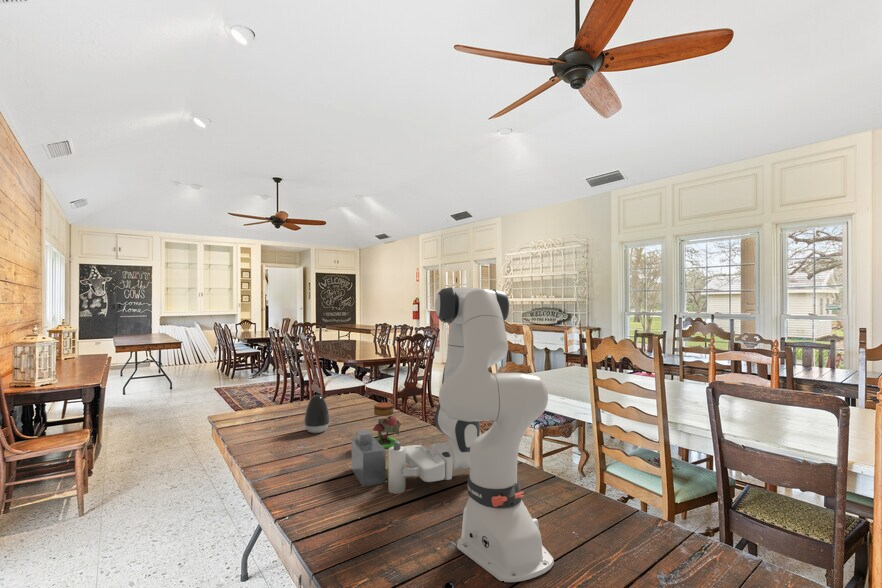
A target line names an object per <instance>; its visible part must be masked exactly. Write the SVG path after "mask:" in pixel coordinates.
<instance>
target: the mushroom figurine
mask: <svg viewBox="0 0 882 588" xmlns="http://www.w3.org/2000/svg"><path fill="white" fill-rule="evenodd" d="M373 414H374V416H376V417H377V416H378V417H384V418H379V419H377V420H378V423H376V424H375V425H374V427H373V429H372V430H373V431H374V432H377V435H378V437H377V438H376V437H375V439H376V440H377V441H378V442H379V443H380V444H381V446H382V447H383V448H384V449H389V448H390V447H394V442H395V441H398V440H397V439H396V438H395V437H390V436H389V434H390V433H391V434H397V436H400V428H401V425H402V423H401V422H400V421H399V420H398V419H397V417H396V416H394V404H393V403H392V402H387V401H385V402H378V403H375V404H374V405H373ZM387 416H388V417H387ZM385 417H386V418H385ZM382 433H385V434H382Z"/></svg>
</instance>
